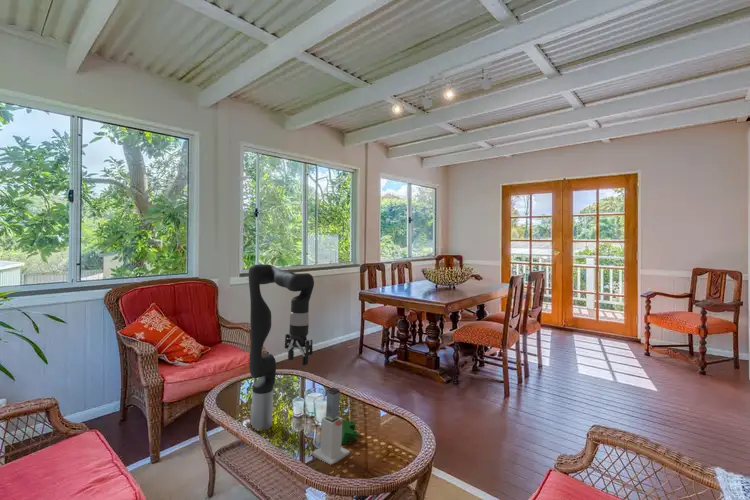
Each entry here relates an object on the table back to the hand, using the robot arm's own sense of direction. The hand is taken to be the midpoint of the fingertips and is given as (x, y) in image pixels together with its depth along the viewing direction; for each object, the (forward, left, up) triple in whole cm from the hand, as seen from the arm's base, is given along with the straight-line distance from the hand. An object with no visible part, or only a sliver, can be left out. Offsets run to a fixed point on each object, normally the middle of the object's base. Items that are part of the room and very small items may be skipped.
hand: (297, 362), depth 149 cm
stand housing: (+11, +10, -38) cm, 41 cm away
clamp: (+8, +24, -38) cm, 46 cm away
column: (+11, +10, -31) cm, 34 cm away
